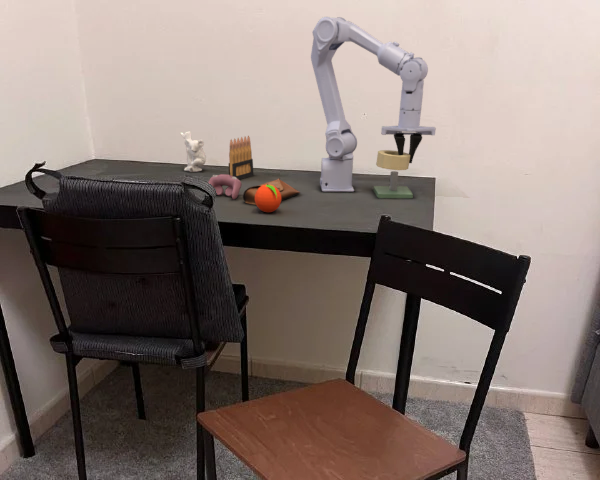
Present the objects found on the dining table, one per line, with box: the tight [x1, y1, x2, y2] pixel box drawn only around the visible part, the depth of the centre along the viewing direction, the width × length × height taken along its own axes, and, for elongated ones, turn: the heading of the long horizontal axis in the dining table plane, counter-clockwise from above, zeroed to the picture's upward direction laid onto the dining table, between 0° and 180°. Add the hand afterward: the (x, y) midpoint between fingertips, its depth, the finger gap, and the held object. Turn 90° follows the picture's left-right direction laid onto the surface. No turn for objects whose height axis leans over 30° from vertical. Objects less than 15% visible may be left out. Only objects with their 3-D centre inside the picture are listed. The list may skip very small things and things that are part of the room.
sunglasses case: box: [242, 177, 301, 206], centre depth 173 cm, size 18×7×7 cm
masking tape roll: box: [375, 149, 410, 171], centre depth 172 cm, size 9×9×4 cm
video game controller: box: [207, 173, 242, 200], centre depth 173 cm, size 10×5×7 cm, turn 71°
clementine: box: [255, 184, 282, 213], centre depth 159 cm, size 8×7×7 cm
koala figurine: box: [179, 130, 207, 173], centre depth 201 cm, size 8×7×12 cm
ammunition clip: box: [228, 135, 254, 180], centre depth 193 cm, size 11×2×12 cm, turn 148°
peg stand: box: [372, 170, 414, 199], centre depth 178 cm, size 10×10×6 cm
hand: (405, 162), depth 172 cm, fingers closed on masking tape roll, 2 cm apart
